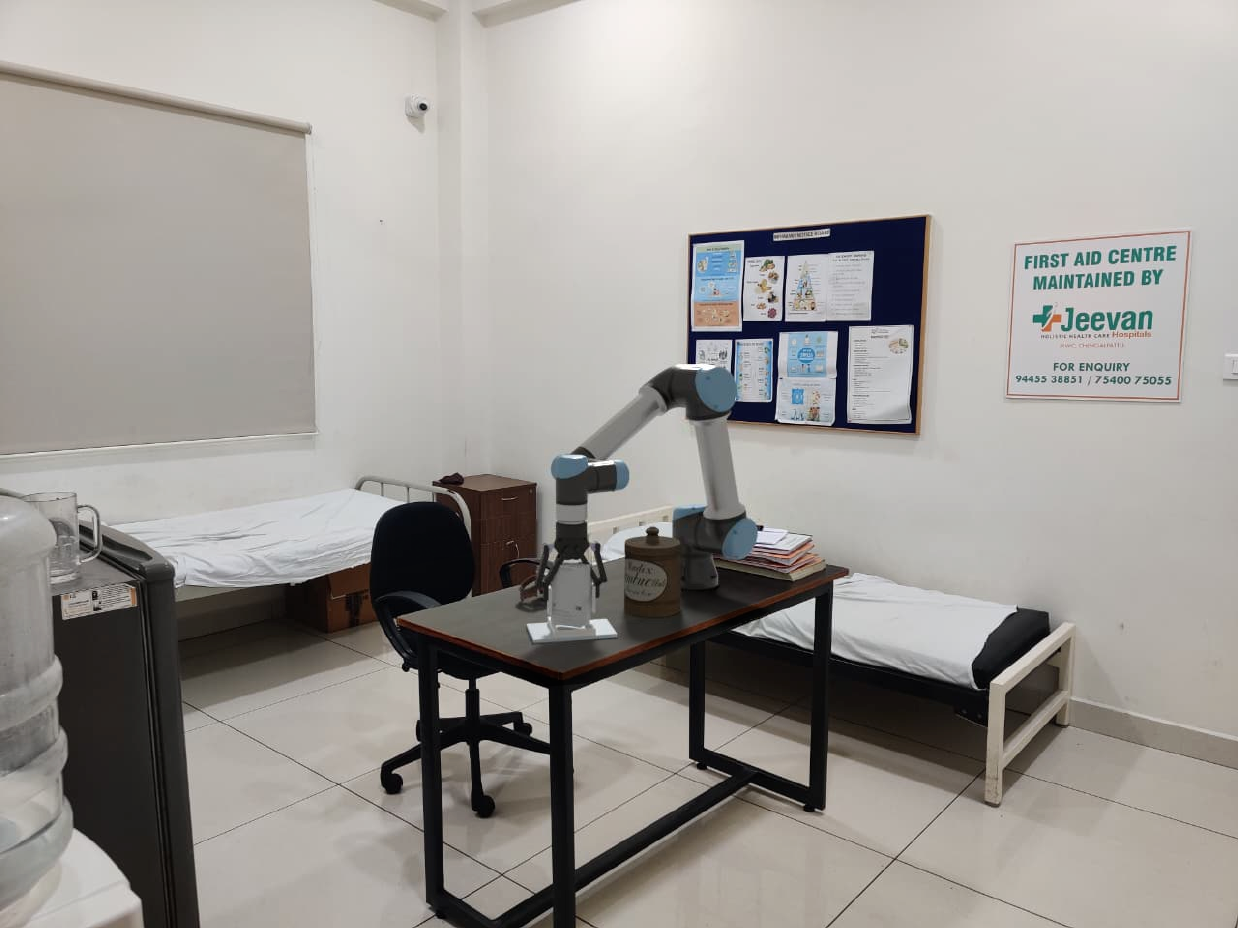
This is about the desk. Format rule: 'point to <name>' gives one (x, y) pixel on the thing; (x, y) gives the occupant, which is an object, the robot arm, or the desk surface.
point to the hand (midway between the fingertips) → (571, 612)
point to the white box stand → (570, 631)
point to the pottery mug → (532, 590)
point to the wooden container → (652, 575)
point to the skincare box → (571, 594)
